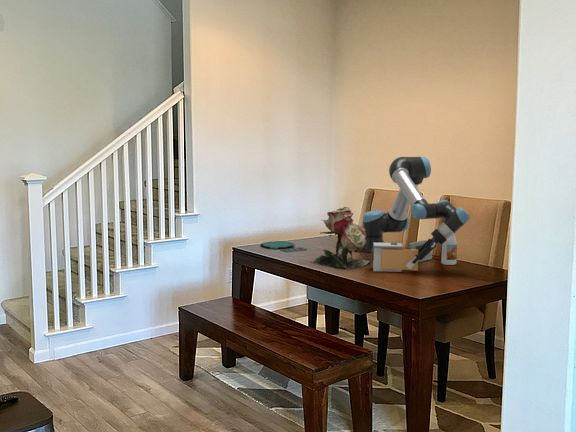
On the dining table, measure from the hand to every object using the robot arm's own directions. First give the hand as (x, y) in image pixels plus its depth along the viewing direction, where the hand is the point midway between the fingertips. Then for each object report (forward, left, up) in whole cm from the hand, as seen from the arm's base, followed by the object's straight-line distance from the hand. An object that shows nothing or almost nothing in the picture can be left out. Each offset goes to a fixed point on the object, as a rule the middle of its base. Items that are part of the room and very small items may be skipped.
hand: (407, 265), depth 297 cm
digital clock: (-32, -5, -4) cm, 32 cm away
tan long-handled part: (+2, -3, -2) cm, 4 cm away
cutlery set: (-26, -89, -4) cm, 93 cm away
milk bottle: (-32, +11, -4) cm, 34 cm away
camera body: (-1, -11, -3) cm, 12 cm away
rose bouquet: (-5, -36, -4) cm, 36 cm away
